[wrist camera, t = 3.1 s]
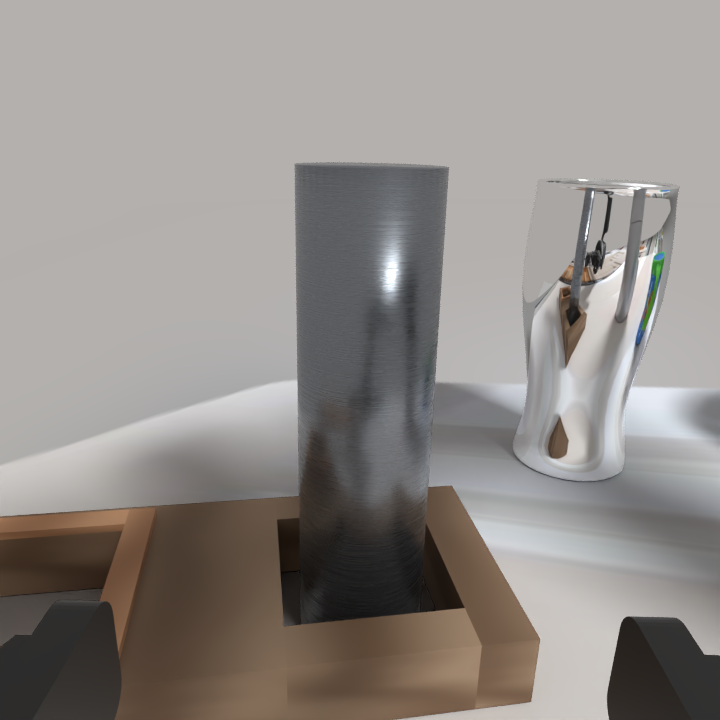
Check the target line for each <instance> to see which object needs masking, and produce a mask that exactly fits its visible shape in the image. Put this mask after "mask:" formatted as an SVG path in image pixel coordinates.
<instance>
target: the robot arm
mask: <svg viewBox="0 0 720 720" xmlns="http://www.w3.org/2000/svg"><path fill="white" fill-rule="evenodd" d="M121 685H122V677H121V668H120V661H119V653H118V646H117V638H116V631H115V624H114V616H113V610H112V607H111V605H110V603H109V602H107V601H78V600H59V601H57V602H55V603H54V604H53V605H52V606H51V607H50V609H49V610H48V612H47V613H46V614H45V616H44V617H43V619H42V620H41V622H40V623H39V625H38V626H37V628H36V629H35V631H34V632H33V633H32V635H15V636H14V637H13V638H11V639H10V640H9V641H8V642H6V643H5V644H4V645H3V646H1V647H0V720H114V719H115V716H116V713H117V710H118V706H119V701H120V695H121ZM607 706H608V715H609V720H720V656H719V655H704V654H703V652H702V651H701V649H700V648H699V646H698V645H697V643H696V641H695V640H694V638H693V637H692V635H691V634H690V632H689V631H688V629H687V628H686V626H685V625H684V624H683V623H682V622H681V621H680V620H679V619H677V618H668V617H625V618H624V619H623V621H622V623H621V627H620V631H619V636H618V641H617V646H616V651H615V656H614V661H613V666H612V671H611V676H610V682H609V687H608V693H607Z"/></svg>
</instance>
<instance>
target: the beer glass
mask: <svg viewBox="0 0 720 720" xmlns="http://www.w3.org/2000/svg"><path fill="white" fill-rule="evenodd" d="M678 191H679V186H678V185H673V184H667V183H658V182H644V181H628V180H607V179H541V180H538V184H537V192H536V197H535V202H534V208H533V212H532V217H531V223H530V228H529V233H528V240H527V247H526V254H525V261H524V275H523V320H524V336H525V349H526V365H527V389H526V398H525V405H524V409H523V413H522V417H521V420H520V423H519V426H518V429H517V432H516V434H515V437H514V441H513V451H514V454H515V455H516V456H517V458H518V459H519V460H520V461H521V462H523V463H524V464H525V465H527V466H528V467H530V468H532V469H534V470H536V471H538V472H540V473H543V474H546V475H549V476H552V477H556V478H560V479H565V480H572V481H599V480H604V479H608V478H611V477H613V476H615V475H617V474H618V473H619V472H620V471H621V470H622V469H623V466H624V462H625V440H624V419H625V411H626V405H627V401H628V397H629V393H630V389H631V386H632V383H633V381H634V378H635V375H636V372H637V370H638V367H639V365H640V362H641V360H642V357H643V355H644V352H645V349H646V347H647V344H648V342H649V339H650V336H651V334H652V331H653V328H654V326H655V323H656V319H657V316H658V313H659V310H660V307H661V304H662V301H663V297H664V292H665V288H666V283H667V279H668V274H669V268H670V262H671V255H672V249H673V240H674V230H675V220H676V207H677V198H678Z"/></svg>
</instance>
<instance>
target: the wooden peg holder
mask: <svg viewBox="0 0 720 720" xmlns="http://www.w3.org/2000/svg"><path fill="white" fill-rule="evenodd" d="M298 570H300V528H299V496H294V497H279V498H265V499H250V500H236V501H221V502H206V503H192V504H177V505H163V506H148V507H133V508H119V509H104V510H90V511H75V512H60V513H46V514H31V515H17V516H2V517H0V596H12V595H23V594H34V593H46V592H57V591H69V590H80V589H92V588H103V587H104V588H103V591H102V594H101V597H100V600H99V601H107V602H109V603H110V605H111V607H112V610H113V616H114V624H115V631H116V638H117V646H118V653H119V661H120V668H121V677H122V685H121V695H120V701H119V706H118V710H117V713H116V716H115V719H114V720H394V719H401V718H409V717H417V716H425V715H432V714H440V713H448V712H456V711H464V710H471V709H479V708H487V707H495V706H503V705H510V704H518V703H526V702H531V698H532V692H533V685H534V678H535V671H536V664H537V657H538V650H539V644H540V638H539V636H538V634H537V633H536V631H535V629H534V627H533V626H532V624H531V622H530V621H529V619H528V617H527V615H526V614H525V612H524V610H523V608H522V607H521V605H520V603H519V601H518V600H517V598H516V596H515V595H514V593H513V591H512V589H511V588H510V586H509V584H508V582H507V581H506V579H505V577H504V575H503V574H502V572H501V570H500V568H499V567H498V565H497V563H496V562H495V560H494V558H493V556H492V555H491V553H490V551H489V549H488V548H487V546H486V544H485V542H484V541H483V539H482V537H481V536H480V534H479V532H478V530H477V529H476V527H475V525H474V523H473V522H472V520H471V518H470V516H469V515H468V513H467V511H466V510H465V508H464V506H463V504H462V503H461V501H460V499H459V497H458V496H457V494H456V492H455V490H454V489H453V487H452V486H440V487H428V497H427V512H426V527H425V543H424V558H423V574H422V575H423V577H424V580H425V583H426V585H427V588H428V590H429V593H430V595H431V598H432V600H433V603H434V605H435V608H436V611H431V612H421V613H411V614H401V615H391V616H381V617H372V618H362V619H352V620H342V621H332V622H322V623H312V624H302V625H293V626H284V620H283V605H282V589H281V574H280V572H286V571H298Z"/></svg>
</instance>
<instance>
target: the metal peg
mask: <svg viewBox="0 0 720 720" xmlns="http://www.w3.org/2000/svg"><path fill="white" fill-rule="evenodd" d="M448 173H449V167H444V166H433V165H414V164H387V163H297V164H295V213H296V214H295V216H296V217H295V218H296V219H295V220H296V293H297V295H296V296H297V373H298V451H299V528H300V604H301V625H302V624H312V623H322V622H332V621H342V620H352V619H362V618H372V617H381V616H391V615H401V614H411V613H420V604H421V589H422V574H423V558H424V543H425V527H426V512H427V497H428V481H429V466H430V450H431V435H432V420H433V404H434V389H435V373H436V358H437V343H438V327H439V311H440V296H441V281H442V265H443V250H444V235H445V219H446V204H447V189H448Z"/></svg>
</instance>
